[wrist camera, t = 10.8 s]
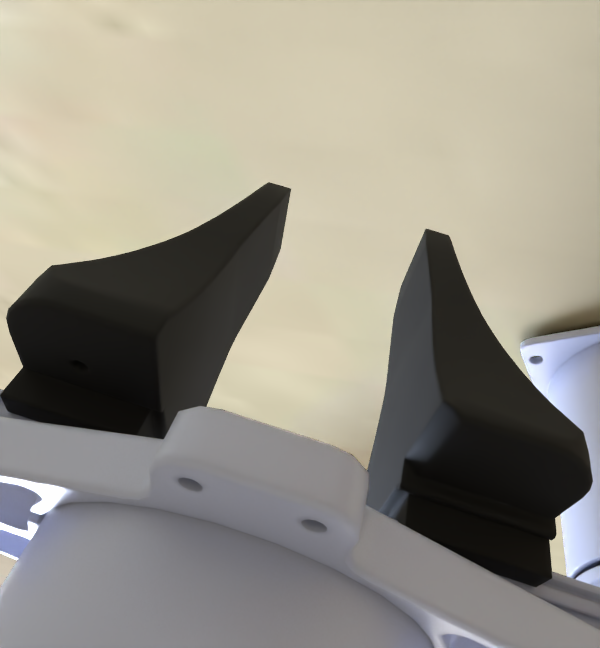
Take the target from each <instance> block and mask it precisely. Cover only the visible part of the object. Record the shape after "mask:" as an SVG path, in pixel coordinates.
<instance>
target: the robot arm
mask: <svg viewBox="0 0 600 648" xmlns="http://www.w3.org/2000/svg"><path fill="white" fill-rule="evenodd" d="M290 192H291V189H290V188H287V187H283V186H280V185H276V184H273V183H270V182H269V183H267V184H265V185H264V186H262V187H261V188H259V189H258V190H257V191H255V192H254V193H252V194H251V195H249V196H248V197H247V198H245V199H244V200H242V201H241V202H239V203H238V204H236V205H234V206H233V207H231V208H230V209H228V210H227V211H225V212H223V213H222V214H220V215H219V216H217V217H215V218H213V219H211V220H210V221H208V222H206V223H204V224H202V225H201V226H199V227H197V228H195V229H193V230H191V231H189V232H186V233H184V234H182V235H179V236H177V237H175V238H172V239H170V240H167V241H164V242H161V243H158V244H155V245H152V246H149V247H146V248H142V249H139V250H136V251H133V252H129V253H125V254H120V255H116V256H111V257H107V258H102V259H96V260H91V261H83V262H76V263H69V264H61V265H52V266H51V267H49V268H48V269H47V270H46V271H45V272H44V273H43V274H42V275H41V276H39V277H38V278H37V279H36V280H35V281H34V283H33V284H32V285H31V286H30V287H29V288H28V289H27V290H26V291H25V292H24V293H23V294H22V295H21V296H20V297H19V298H18V300H17V301H16V302H15V303H14V304H13V305H12V306H11V307H10V308H9V309H8V313H7V317H6V319H7V324H8V328H9V332H10V335H11V337H12V340H13V342H14V345H15V347H16V350H17V352H18V355H19V357H20V360H21V362H22V365H23V368H22V369H21V370H20V372H19V373H18V374H17V375H16V376H15V378H14V379H13V380H12V381H11V382H10V384H9V385H8V386H7V387H6V388H5V389H4V390H2V389H0V553H2V554H4V555H6V556H9V557H11V558H13V559H16V560H17V562H16V563H15V565H14V566H13V568H12V570H11V571H10V573H9V574H8V576H7V577H6V579H5V581H4V582H3V584H2V585H1V587H0V648H600V326H596V327H590V328H584V329H579V330H573V331H567V332H561V333H555V334H550V335H544V336H538V337H532V338H528V339H525V340H524V341H522V343H521V344H520V348H521V355H522V357H523V360H524V363H525V365H526V368H527V370H528V373H529V376H530V378H531V381H532V383H533V384H532V383H531V381H530V380H529V379H528V378H527V377H526V376H525V375H524V374H523V372H522V371H521V370H520V369H519V368H518V366H517V365H516V364H515V363H514V361H513V360H512V359H511V358H510V356H509V355H508V354H507V352H506V351H505V350H504V348H503V347H502V346H501V344H500V343H499V341H498V340H497V338H496V337H495V335H494V334H493V332H492V331H491V329H490V328H489V326H488V324H487V323H486V321H485V319H484V318H483V316H482V314H481V312H480V310H479V308H478V306H477V304H476V302H475V300H474V298H473V296H472V294H471V292H470V289H469V287H468V285H467V282H466V280H465V278H464V275H463V273H462V270H461V267H460V265H459V262H458V259H457V256H456V254H455V251H454V248H453V245H452V242H451V239H450V237H449V235H445V234H442V233H439V232H435V231H432V230H429V229H426V230H425V232H424V234H423V237H422V239H421V241H420V243H419V246H418V248H417V250H416V253H415V255H414V257H413V260H412V262H411V264H410V267H409V269H408V271H407V274H406V276H405V278H404V281H403V283H402V285H401V289H400V293H399V297H398V301H397V305H396V309H395V313H394V319H393V327H392V336H391V346H390V355H389V364H388V374H387V383H386V389H385V396H384V401H383V405H382V410H381V414H380V419H379V423H378V428H377V432H376V436H375V440H374V445H373V449H372V453H371V457H370V462H369V466H368V470H366V469H365V468H364V467H363V466H362V465H361V464H360V463H359V462H358V460H357V459H356V458H355V457H354V456H353V455H351V454H349V453H347V452H345V451H343V450H341V449H339V448H337V447H335V446H333V445H330V444H327V443H324V442H321V441H318V440H315V439H312V438H309V437H306V436H302V435H299V434H296V433H293V432H290V431H287V430H284V429H281V428H278V427H275V426H272V425H269V424H265V423H262V422H259V421H256V420H253V419H250V418H247V417H244V416H241V415H238V414H235V413H232V412H228V411H225V410H222V409H216V408H210V407H206V406H207V403H208V401H209V398H210V396H211V394H212V391H213V389H214V386H215V384H216V381H217V379H218V376H219V374H220V372H221V369H222V367H223V365H224V362H225V360H226V357H227V355H228V353H229V350H230V348H231V346H232V344H233V342H234V340H235V338H236V336H237V334H238V332H239V331H240V329H241V327H242V325H243V324H244V322H245V320H246V318H247V317H248V315H249V313H250V311H251V309H252V308H253V306H254V304H255V302H256V301H257V299H258V297H259V295H260V293H261V292H262V290H263V288H264V286H265V284H266V283H267V281H268V279H269V277H270V274H271V272H272V269H273V267H274V264H275V262H276V259H277V257H278V254H279V252H280V249H281V243H282V238H283V232H284V226H285V220H286V215H287V209H288V203H289V197H290ZM532 356H539V357H532ZM560 514H561V523H562V533H563V542H564V552H565V562H566V571H567V576H564V575H561V574H558V573H555V572H552V568H551V556H550V544H549V540H553V539H554V538H555V536H556V524H555V518H556V517H557V516H558V515H560Z"/></svg>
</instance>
